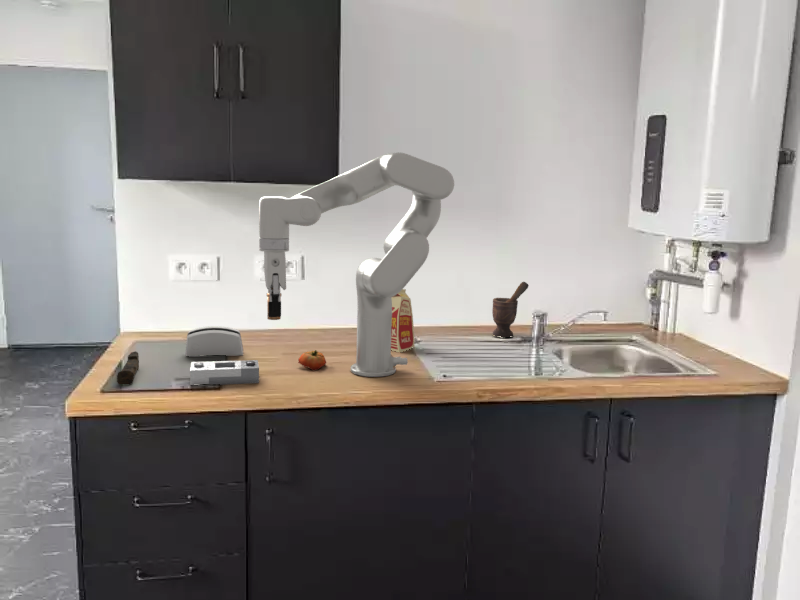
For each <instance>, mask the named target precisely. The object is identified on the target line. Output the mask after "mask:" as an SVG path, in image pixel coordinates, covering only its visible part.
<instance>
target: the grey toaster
mask: <svg viewBox="0 0 800 600" xmlns="http://www.w3.org/2000/svg"><path fill="white" fill-rule="evenodd" d="M242 341H243V340H242V336H241V332H240V330H239V329H237V328H233V327H229V326H222V325H215V326H214V325H210V326H203V327H197V328H193V329H191V330H189V331H188V333H187V335H186V344H185V355H186V356H189V357H201V356H200V355H226V356H227V357H228V356H237V357H238V356H244V347H243V342H242ZM185 355H184V356H185ZM198 355H199V356H198ZM186 356H185V357H186Z"/></svg>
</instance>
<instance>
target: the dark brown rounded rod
mask: <svg viewBox="0 0 800 600" xmlns="http://www.w3.org/2000/svg"><path fill="white" fill-rule="evenodd" d="M139 368H140V360H139V352H138V351H132V352H130V353H129V354H128V355H127V360H126V362H125V364H124V366H123V367H122V369H121V371H118V372H117V375H116V383H118V385H119V384H129V385H132V384H133V383H134V379H135V376H136V373H137V371H139V370H140V369H139Z"/></svg>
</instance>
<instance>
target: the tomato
mask: <svg viewBox="0 0 800 600" xmlns="http://www.w3.org/2000/svg"><path fill="white" fill-rule="evenodd" d="M297 364H300V365H301V366H303V367H305V368H309V369H310V370H311V371H317V370H319V369H321V368H322V367H324V366H325V367H326V364H327V361H326V357H325V355H324V354H323V353H322V352H319V351H318V350H316V349H314V350H311V351H305V352H303V353H302V354H301V355H300V357H299V358H298V362H297Z"/></svg>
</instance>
